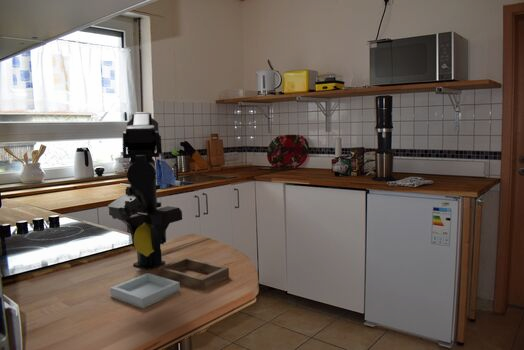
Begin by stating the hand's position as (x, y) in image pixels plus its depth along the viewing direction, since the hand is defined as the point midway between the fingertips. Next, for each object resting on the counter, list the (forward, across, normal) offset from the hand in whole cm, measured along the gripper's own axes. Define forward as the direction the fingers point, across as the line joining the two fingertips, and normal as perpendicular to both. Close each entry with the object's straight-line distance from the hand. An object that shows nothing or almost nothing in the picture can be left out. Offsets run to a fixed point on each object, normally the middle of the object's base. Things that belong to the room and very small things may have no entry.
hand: (146, 247), depth 101 cm
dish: (+11, 0, -1) cm, 11 cm away
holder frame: (+11, +2, +13) cm, 17 cm away
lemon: (+2, 0, 0) cm, 2 cm away
